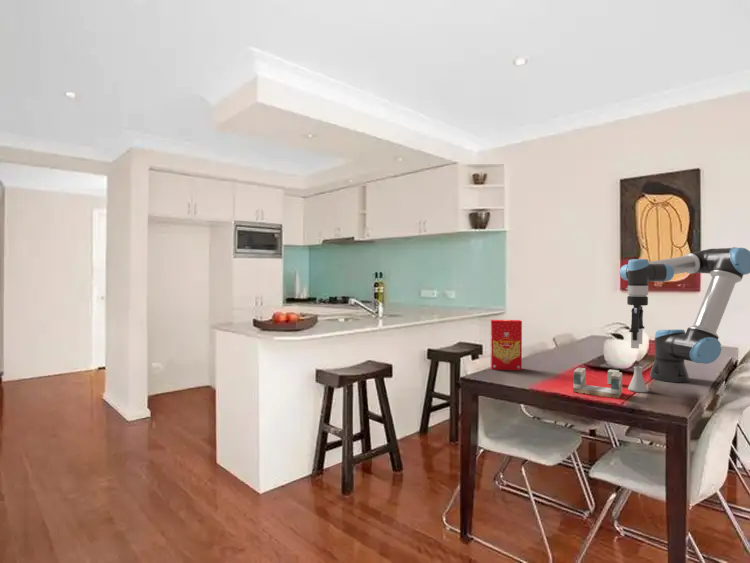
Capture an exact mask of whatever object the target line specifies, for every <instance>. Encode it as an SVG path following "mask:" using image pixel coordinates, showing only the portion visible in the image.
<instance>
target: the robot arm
mask: <svg viewBox="0 0 750 563" xmlns="http://www.w3.org/2000/svg"><path fill="white" fill-rule="evenodd" d="M627 262H628V263H627V264H624V265H622V266H621V267H620V270H619V276H620V278H621V279H622V280H624V281H627V287H626V288H625V290H626V291H627V295H628V296H627V305H628V306H633V307H632V308H631V310H630V312H631V320H630V321H631V323H630V329H629V330H628V331H629V333H631V334H630V348H631V349H640V347H639V346H640V345H643V331H644V330H643V329H645V326H644V323H643V321H644V320H643V319H644V309H643V307H644V306H645V307H646V306H648V305H649V297H648V295H649V282H656V283H657V282H662V283H665V282H670V281H671V280H672V279H673V278H674V276H675V275H679V274H683V273H684V274H685V273H686V274H691V275H692V274H693V275H694V274H708V275H709V274H710V276H711V280H710V282H709V285H708V287H707V289H706V292H705V295H704V298H703V300H702V302H701V304H700V307H699V309H698V312H697V314H696V318H695V320H694V323H693V325H691V326H689V327H687V330H686V331H685V329H658V330H656V331H655V333H654V334H655V335H654V362H653V364H652V367H651V369H650V371H649V376H650V378H651V379H655V380H657V381H663V382H668V383H669V382H670V383H686V382H689V380H690V378H689V377H690V376H689V372H688V370H687V367H686V365H685V361H689V362H693V363H696V364H705V365H706V364H711V363H714V362H715V361H716V360H718V358H719V357H720V355H721V352H722V347H721V346H722V344H721V342H720V340H719V338H720V337H719V335H718V333H717V331H718V329H719V326H720V324H721V321H722V318H723V316H724V313H725V311H726V308H727V306H728V304H729V301H730V298H731V295H732V292H733V290H734V288H735V285H736V284H737V283H739V282H741V281H742V280H743V277H744V276H745V275H749V274H750V250H749V249H747V248H744V247H735V246H734V247H733V246H732V247H725V248H721V247H720V248H708V249H703V250H699V251H695V252H690V253H686V254H684V255H682V256H678V257H671V258H665V259H659V260H653V261H649V259H647V258H635V259H633V258H632V259H629V260H628V261H627Z"/></svg>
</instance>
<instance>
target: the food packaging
mask: <svg viewBox="0 0 750 563" xmlns="http://www.w3.org/2000/svg"><path fill="white" fill-rule="evenodd" d="M522 328H523V322H522V320H521V319H490V369H491V370H496V371H498V370H500V371H508V370H509V371H522V370H523V369H522V368H523V367H522V362H523V361H522V353H523V352H522V350H523V348H522V347H523V345H522V344H523V342H522V340H523V329H522Z"/></svg>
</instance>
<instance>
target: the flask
mask: <svg viewBox="0 0 750 563" xmlns="http://www.w3.org/2000/svg"><path fill="white" fill-rule="evenodd" d="M633 369H634V370H633V371H634V372H633V376H632V378H631V381H630V382H629V385H628V387H627V389H628V390H629V391H631V392H634V393H648V392H649V390H648V387H647V385H646V382H645V379H644V377H643V369H644V368H643V367H642V366H638V365H637V366H633Z"/></svg>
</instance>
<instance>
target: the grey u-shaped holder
mask: <svg viewBox="0 0 750 563" xmlns="http://www.w3.org/2000/svg"><path fill="white" fill-rule="evenodd" d="M572 378H573V379H572V380H573V386H572V387H573V389H572V392H573V393H576V392H578V393H577V394H583V393H585V395H590V394H591V396H597V395H598V396H597V397H604V396H605V398H611V397H613V399H618V398H619V399H620V398H621V395H622V394H623V372H620V371H619V372H613V374H612V375H611V385H610V387H603V386H599V385H598V386H596V385H591V384H586V368H583V367H577V368H576V369H574V370H573V377H572Z"/></svg>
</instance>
